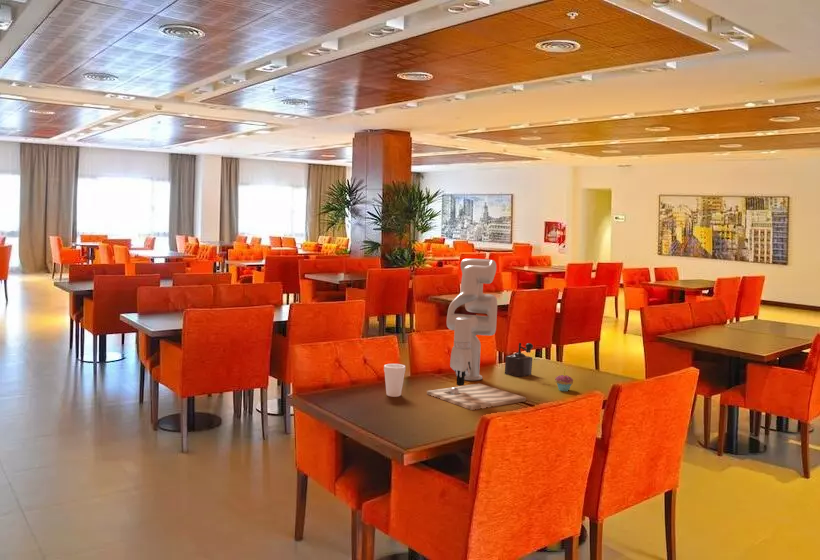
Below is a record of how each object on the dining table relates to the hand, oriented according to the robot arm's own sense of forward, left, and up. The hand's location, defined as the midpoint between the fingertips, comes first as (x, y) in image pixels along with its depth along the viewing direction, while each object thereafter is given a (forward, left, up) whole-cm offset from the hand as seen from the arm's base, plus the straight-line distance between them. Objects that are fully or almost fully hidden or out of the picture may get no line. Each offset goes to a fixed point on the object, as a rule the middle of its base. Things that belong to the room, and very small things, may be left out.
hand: (460, 384), depth 318 cm
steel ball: (+1, -5, -2) cm, 5 cm away
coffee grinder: (-17, +57, -5) cm, 60 cm away
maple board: (+7, +3, -4) cm, 9 cm away
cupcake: (+16, +51, -5) cm, 54 cm away
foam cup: (-14, -27, -5) cm, 31 cm away
